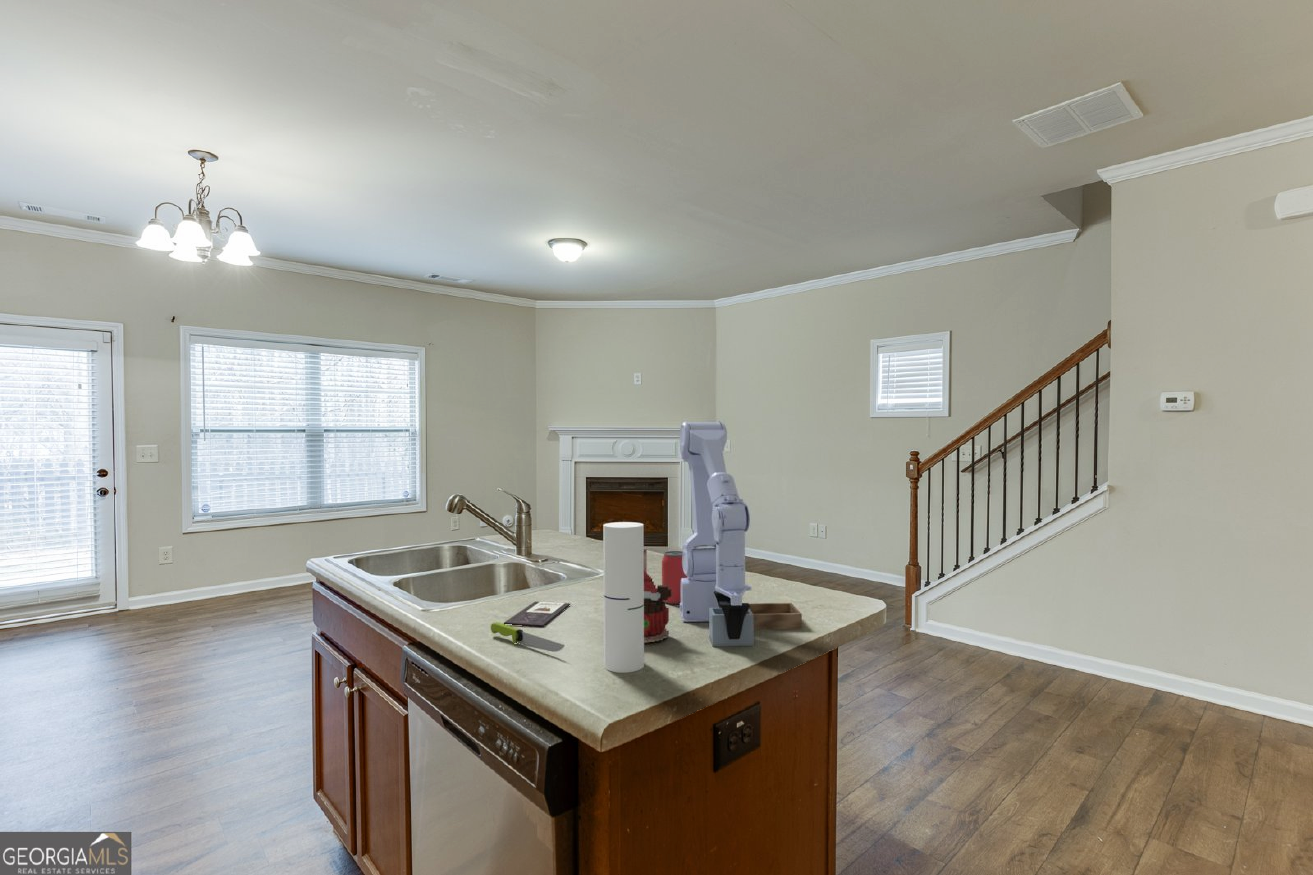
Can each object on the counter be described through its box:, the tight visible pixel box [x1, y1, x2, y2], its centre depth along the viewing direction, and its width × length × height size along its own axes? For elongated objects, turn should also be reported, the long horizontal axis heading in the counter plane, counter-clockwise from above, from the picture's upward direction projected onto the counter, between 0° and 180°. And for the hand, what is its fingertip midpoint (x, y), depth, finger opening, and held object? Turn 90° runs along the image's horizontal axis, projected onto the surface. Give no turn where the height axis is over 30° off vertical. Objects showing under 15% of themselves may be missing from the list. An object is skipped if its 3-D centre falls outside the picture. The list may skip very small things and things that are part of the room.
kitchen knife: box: [490, 622, 566, 653], centre depth 122 cm, size 22×1×3 cm, turn 50°
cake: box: [644, 548, 671, 644], centre depth 127 cm, size 11×9×18 cm
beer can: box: [661, 550, 689, 605], centre depth 156 cm, size 7×7×12 cm
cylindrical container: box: [602, 521, 645, 674], centre depth 112 cm, size 7×7×25 cm
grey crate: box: [708, 608, 755, 647], centre depth 125 cm, size 8×5×6 cm
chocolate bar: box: [503, 601, 571, 628], centre depth 144 cm, size 9×1×18 cm
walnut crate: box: [748, 602, 803, 631], centre depth 137 cm, size 11×9×4 cm
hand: (731, 632), depth 125 cm, fingers open, 7 cm apart
